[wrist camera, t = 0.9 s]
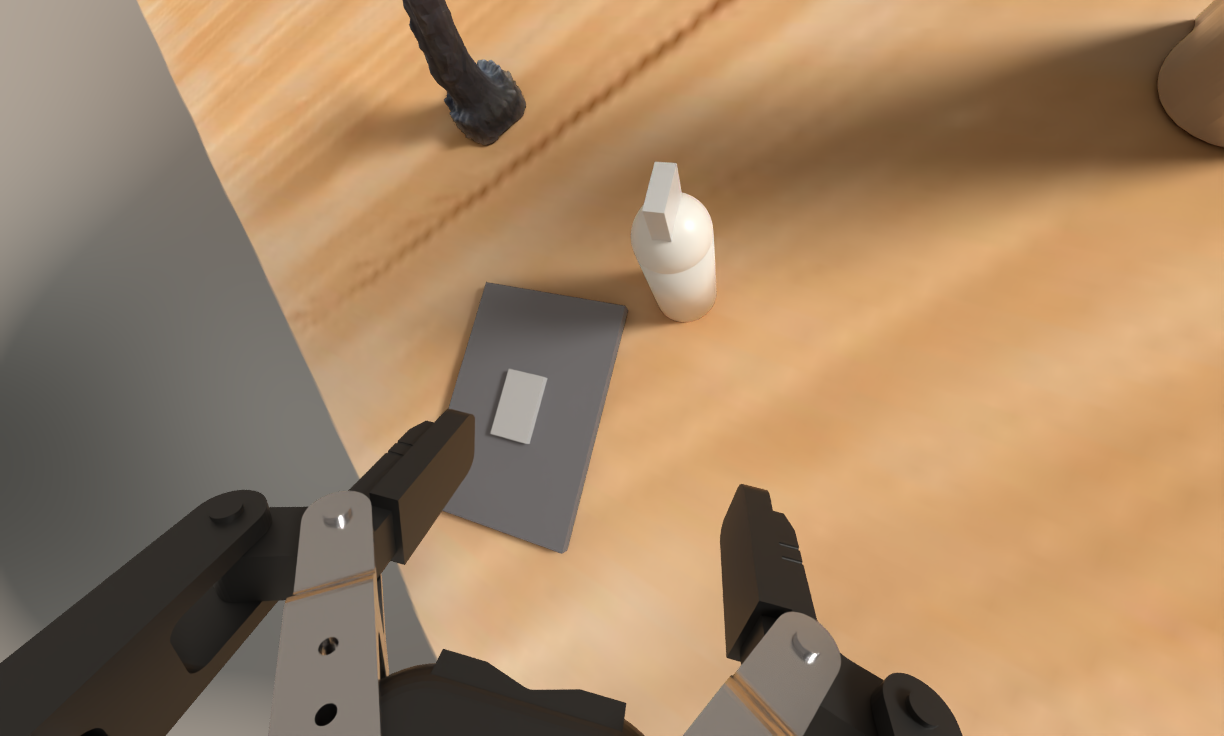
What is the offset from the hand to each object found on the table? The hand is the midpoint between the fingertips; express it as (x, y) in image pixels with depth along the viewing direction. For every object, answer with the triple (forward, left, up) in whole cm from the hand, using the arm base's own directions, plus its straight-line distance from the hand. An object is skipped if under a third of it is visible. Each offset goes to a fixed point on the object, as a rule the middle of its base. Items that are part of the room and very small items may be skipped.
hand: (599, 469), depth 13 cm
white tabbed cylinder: (-12, -2, -18) cm, 22 cm away
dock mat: (-1, -12, -18) cm, 21 cm away
